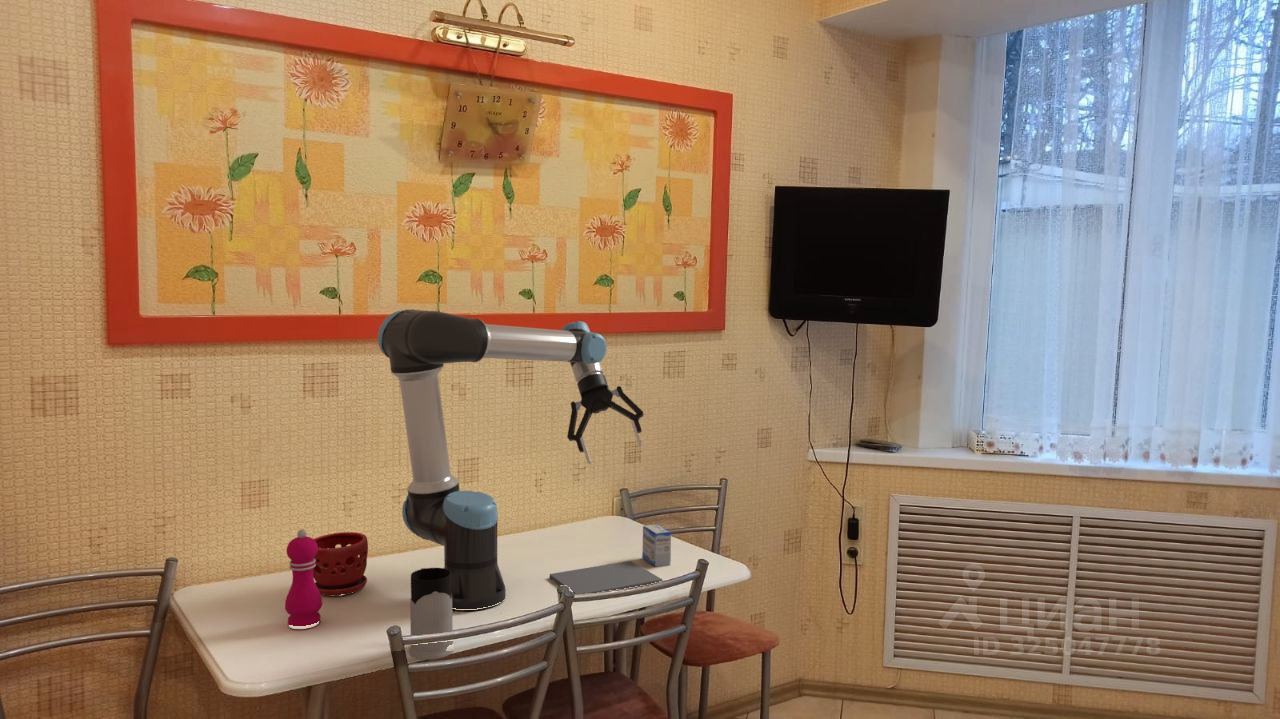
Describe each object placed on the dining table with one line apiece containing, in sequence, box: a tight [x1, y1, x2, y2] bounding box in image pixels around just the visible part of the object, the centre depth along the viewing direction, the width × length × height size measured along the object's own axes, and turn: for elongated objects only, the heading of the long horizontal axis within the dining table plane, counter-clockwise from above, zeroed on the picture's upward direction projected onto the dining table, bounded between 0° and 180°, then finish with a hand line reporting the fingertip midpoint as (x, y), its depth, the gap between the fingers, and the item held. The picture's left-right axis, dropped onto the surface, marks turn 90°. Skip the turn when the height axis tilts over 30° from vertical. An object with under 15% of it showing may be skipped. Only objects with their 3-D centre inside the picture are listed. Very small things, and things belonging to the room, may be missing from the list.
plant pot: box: [313, 531, 369, 596], centre depth 201 cm, size 13×13×12 cm
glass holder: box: [408, 567, 455, 660], centre depth 171 cm, size 9×14×15 cm, turn 24°
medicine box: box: [641, 524, 672, 568], centre depth 223 cm, size 8×4×9 cm, turn 25°
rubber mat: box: [549, 560, 663, 594], centre depth 209 cm, size 22×16×1 cm
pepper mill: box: [284, 529, 323, 626], centre depth 180 cm, size 7×7×20 cm
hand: (615, 454), depth 222 cm, fingers open, 13 cm apart
